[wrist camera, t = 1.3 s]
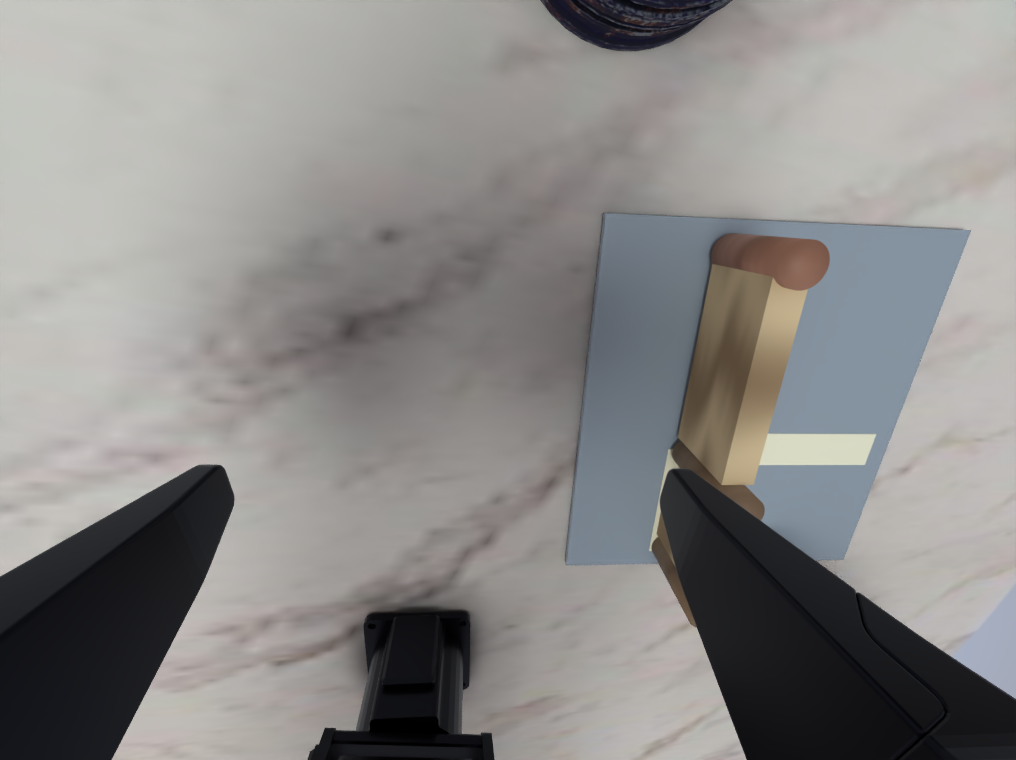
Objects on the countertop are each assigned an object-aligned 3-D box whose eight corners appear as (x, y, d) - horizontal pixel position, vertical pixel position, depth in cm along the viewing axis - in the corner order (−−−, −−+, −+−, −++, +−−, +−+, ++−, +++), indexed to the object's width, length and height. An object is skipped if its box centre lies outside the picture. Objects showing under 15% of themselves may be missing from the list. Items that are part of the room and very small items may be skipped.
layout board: (838, 555, 29) (843, 560, 28) (564, 560, 27) (566, 565, 27) (962, 229, 22) (972, 230, 21) (603, 213, 20) (606, 213, 20)
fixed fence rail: (677, 556, 27) (719, 627, 23) (649, 557, 27) (685, 628, 22) (696, 470, 25) (747, 530, 20) (665, 470, 25) (709, 530, 20)
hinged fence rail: (700, 466, 25) (759, 531, 20) (669, 466, 25) (720, 531, 19) (753, 233, 20) (844, 240, 15) (715, 232, 20) (796, 238, 15)
